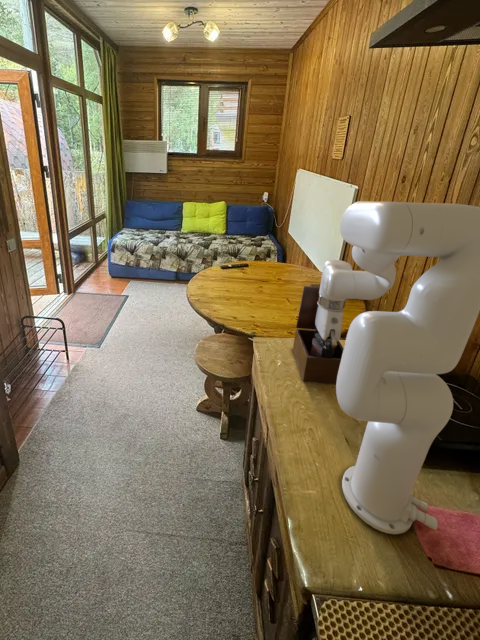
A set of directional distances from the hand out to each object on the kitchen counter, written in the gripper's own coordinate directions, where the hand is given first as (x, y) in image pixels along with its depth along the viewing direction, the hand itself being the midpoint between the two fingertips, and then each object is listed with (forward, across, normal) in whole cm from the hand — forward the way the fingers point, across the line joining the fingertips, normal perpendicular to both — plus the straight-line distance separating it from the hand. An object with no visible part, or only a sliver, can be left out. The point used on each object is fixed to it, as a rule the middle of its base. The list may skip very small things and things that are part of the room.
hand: (321, 350), depth 97 cm
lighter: (+5, 0, 0) cm, 5 cm away
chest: (+7, +2, 0) cm, 7 cm away
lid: (-10, +8, 0) cm, 13 cm away
